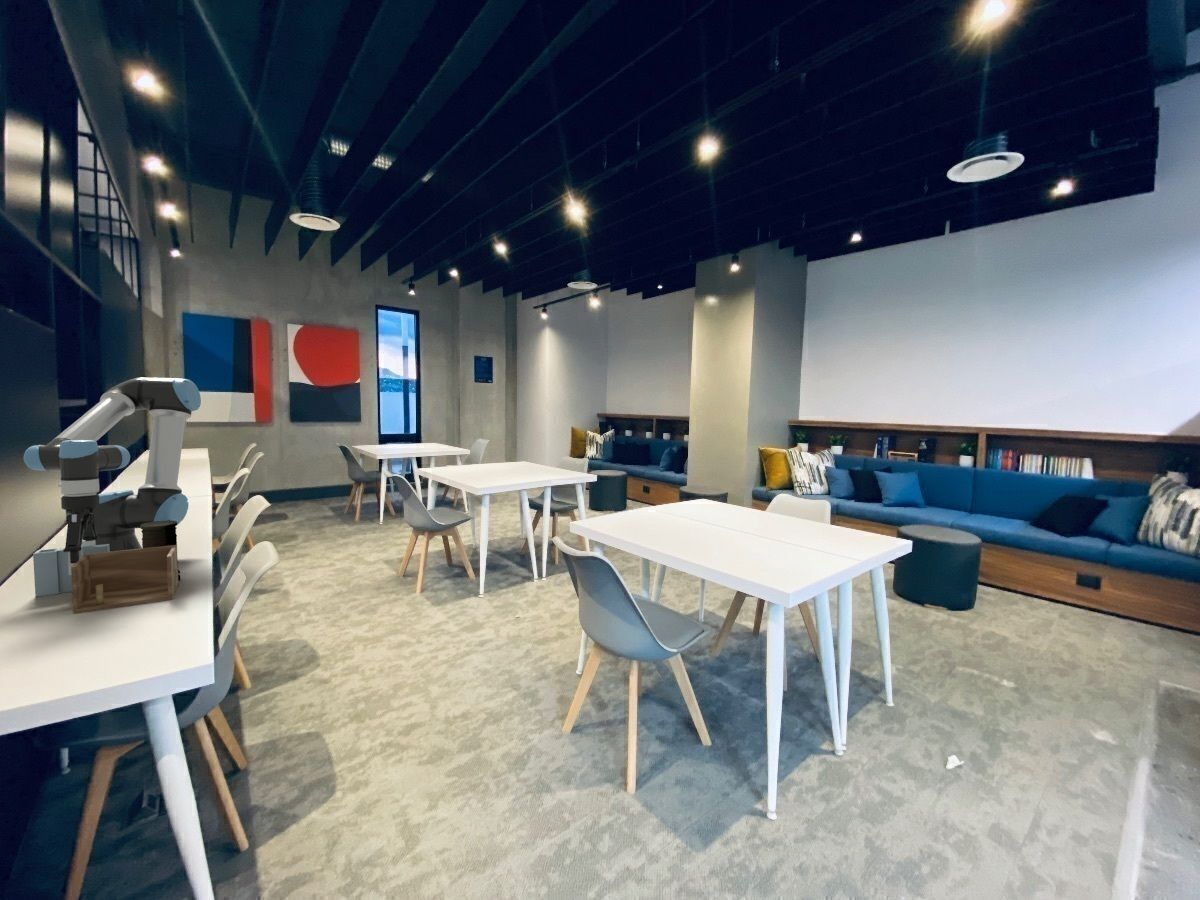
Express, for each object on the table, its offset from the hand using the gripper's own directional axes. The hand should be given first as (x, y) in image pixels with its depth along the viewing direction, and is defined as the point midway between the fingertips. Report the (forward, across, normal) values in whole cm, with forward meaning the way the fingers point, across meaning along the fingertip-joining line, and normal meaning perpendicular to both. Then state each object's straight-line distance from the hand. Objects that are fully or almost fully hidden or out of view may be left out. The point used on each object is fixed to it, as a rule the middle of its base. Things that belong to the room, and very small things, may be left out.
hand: (82, 568), depth 143 cm
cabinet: (+6, +16, +12) cm, 21 cm away
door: (+6, 0, -2) cm, 6 cm away
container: (+6, +4, +17) cm, 19 cm away
